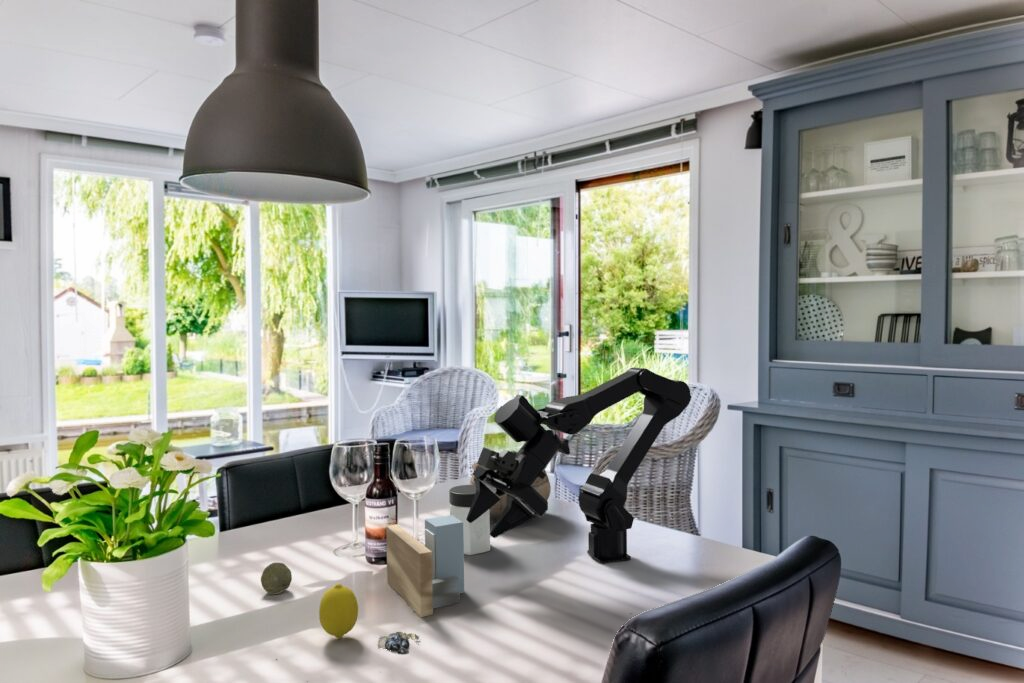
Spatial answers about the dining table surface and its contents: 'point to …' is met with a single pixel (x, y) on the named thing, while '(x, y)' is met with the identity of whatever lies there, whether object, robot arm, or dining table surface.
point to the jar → (474, 532)
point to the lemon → (338, 611)
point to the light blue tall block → (446, 547)
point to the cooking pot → (495, 511)
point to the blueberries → (397, 642)
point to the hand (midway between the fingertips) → (479, 528)
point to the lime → (276, 578)
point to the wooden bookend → (416, 573)
